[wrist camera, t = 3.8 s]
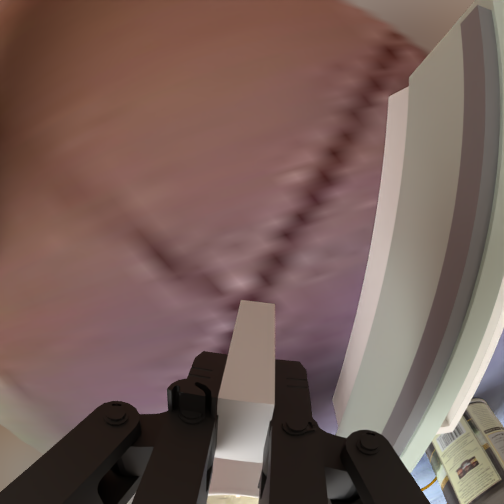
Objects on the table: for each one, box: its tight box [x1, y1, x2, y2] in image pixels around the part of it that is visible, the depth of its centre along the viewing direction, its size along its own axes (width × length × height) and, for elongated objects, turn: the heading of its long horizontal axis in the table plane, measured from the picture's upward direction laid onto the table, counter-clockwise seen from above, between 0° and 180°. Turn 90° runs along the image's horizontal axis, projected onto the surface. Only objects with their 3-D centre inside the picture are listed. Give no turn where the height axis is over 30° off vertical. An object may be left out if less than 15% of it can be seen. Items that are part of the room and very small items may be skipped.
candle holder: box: [206, 456, 263, 504], centre depth 25 cm, size 10×10×12 cm
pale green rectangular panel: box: [336, 0, 504, 473], centre depth 14 cm, size 12×28×1 cm
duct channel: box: [332, 86, 504, 435], centre depth 22 cm, size 12×28×6 cm, turn 174°
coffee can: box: [425, 398, 504, 504], centre depth 23 cm, size 10×10×14 cm
